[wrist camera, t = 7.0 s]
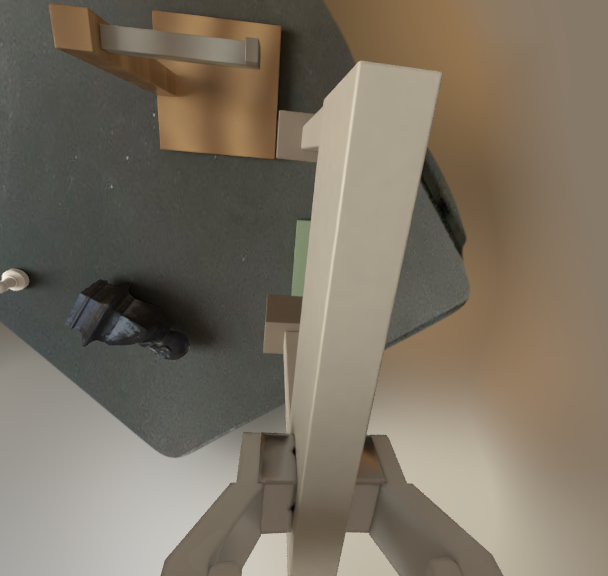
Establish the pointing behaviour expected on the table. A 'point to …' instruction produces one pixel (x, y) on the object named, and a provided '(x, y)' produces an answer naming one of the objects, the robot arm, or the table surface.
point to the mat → (300, 256)
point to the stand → (189, 74)
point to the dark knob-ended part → (124, 321)
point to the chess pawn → (13, 280)
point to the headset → (345, 285)
